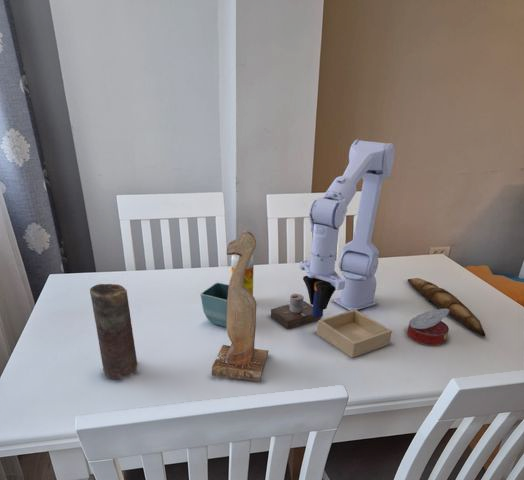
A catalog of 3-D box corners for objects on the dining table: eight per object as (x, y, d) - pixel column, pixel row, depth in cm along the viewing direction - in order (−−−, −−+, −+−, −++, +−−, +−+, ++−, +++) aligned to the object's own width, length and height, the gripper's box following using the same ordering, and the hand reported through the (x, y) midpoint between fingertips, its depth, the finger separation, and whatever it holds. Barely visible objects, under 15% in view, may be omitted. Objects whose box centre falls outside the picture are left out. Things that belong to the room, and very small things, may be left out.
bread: (400, 282, 153) (403, 268, 151) (413, 281, 155) (416, 266, 152) (476, 340, 122) (481, 323, 120) (492, 338, 124) (498, 321, 121)
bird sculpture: (220, 351, 114) (217, 219, 97) (268, 355, 113) (274, 222, 97) (211, 378, 105) (206, 236, 88) (264, 382, 104) (269, 240, 87)
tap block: (302, 308, 135) (303, 299, 134) (320, 319, 130) (321, 310, 128) (270, 317, 130) (271, 308, 129) (287, 329, 125) (288, 320, 123)
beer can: (250, 309, 134) (251, 258, 126) (229, 307, 135) (228, 256, 127) (254, 300, 139) (255, 251, 131) (234, 298, 140) (234, 249, 132)
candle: (107, 361, 109) (93, 280, 98) (140, 361, 110) (129, 280, 99) (100, 381, 102) (85, 296, 92) (135, 380, 103) (123, 296, 93)
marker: (318, 311, 118) (321, 280, 114) (325, 316, 116) (328, 284, 112) (309, 314, 117) (312, 282, 113) (316, 318, 115) (319, 286, 111)
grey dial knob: (297, 306, 131) (298, 291, 129) (305, 311, 128) (306, 296, 126) (286, 308, 129) (287, 294, 127) (294, 314, 127) (295, 299, 124)
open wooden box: (352, 322, 129) (354, 309, 127) (389, 344, 119) (392, 330, 117) (316, 333, 123) (318, 320, 121) (352, 358, 113) (354, 343, 111)
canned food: (427, 361, 122) (423, 337, 115) (401, 339, 129) (396, 315, 121) (461, 336, 123) (460, 310, 115) (434, 316, 130) (431, 291, 122)
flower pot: (245, 318, 129) (246, 288, 124) (230, 332, 122) (230, 301, 117) (217, 311, 132) (216, 281, 127) (200, 325, 125) (199, 293, 120)
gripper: (290, 246, 112) (287, 298, 119) (330, 266, 101) (324, 322, 109) (314, 241, 115) (310, 292, 122) (355, 260, 105) (347, 315, 112)
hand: (318, 306), depth 116 cm, fingers closed on marker, 2 cm apart
